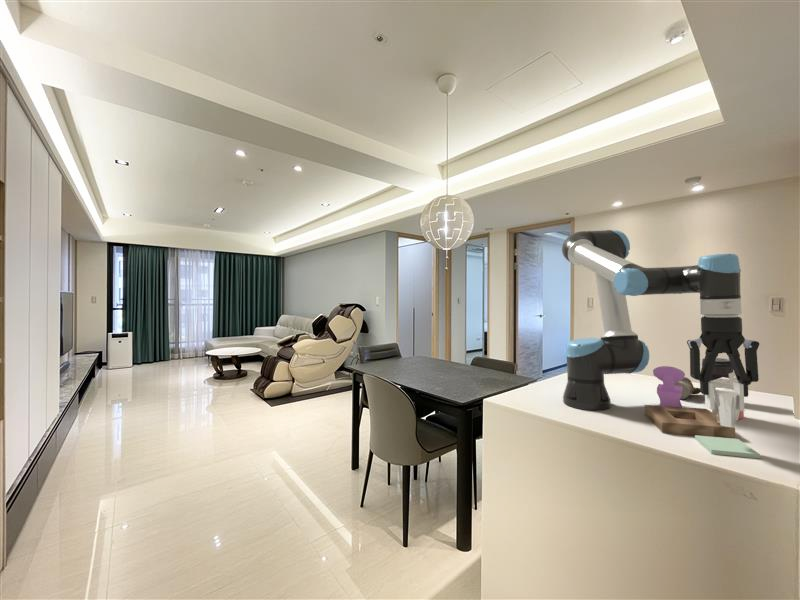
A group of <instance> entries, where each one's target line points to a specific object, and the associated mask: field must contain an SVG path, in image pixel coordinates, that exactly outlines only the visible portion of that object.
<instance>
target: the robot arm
mask: <svg viewBox="0 0 800 600" xmlns="http://www.w3.org/2000/svg"><path fill="white" fill-rule="evenodd" d="M630 250H631V243H630V239H629V238H628V236H627V235H626V234H625V233H624V232H622V231H621V230H615V229H614V230H612V229H606V230H604V229H603V230H583V231H577V232H574V233H572V234H570V235H569V236H567V237H566V239H565V240H564V241H563V243H562V247H561V251H562V256H563V257H564V258H565V260H567V261H568V262H570V263H571V264H572V265H577V266H580V265H581V266H582V267H584V268H586V269H588V270H590V271H592V272H593V273H594V274H595V282H596V289H597V293H598V294H597V295H598V300H599V307H600V308H599V309H600V313H601V320H602V327H603V334H602V335H601V336H600V337H599V338H598V337H584V338H578V339H577V338H575V339H573V340H570V341H569V342H567V345H566V352H565V356H566V371H567V373H566V374H567V382H566V385H565V389H564V392H563V395H562V402H563V403H564V404H565V405H566V406H568V407H571V408H573V409H574V408H575V409H580V410H585V411H586V410H587V411H604V410H608V409H610V408H611V407H612V404H611V397H610V395H609V393H608V391H607V388H606V386H605V375H618V374H629V375H630V374H635V373H639V372H642V371H643V370H645V369H646V367H648V364H649V361H650V351H649V347H648V345H646V343H645V342H644V341H643V340H640V339H639V337H638V333H636V332H634V331H633V330H632V324H631V319H630V314H629V312H630V311H629V306H628V300H627V296H631V297H637V296H649V295H671V294H672V295H678V294H679V295H681V294H697V293H698V294H699V304H700V305H699V306H700V310H699V311H700V315H702V317H701V318H700V330H701V334H700V336H699V338H696V339H688V340H687V341H686V344H687V346H688V348H689V372H690V373H689V376H690V377H691V378H692V379H695V380H696V381H699V388H700V394H702V395H704V406H705V407H707V408H708V409H709V410H712V409H714V391H713V383H711V382H709V380H710V377H711V373H712V370H713V367H714V363H715V360H716V358H719V357H718V356H719V355H720V354H726V355H727V357H728V359H729V360H730V362H731V365H732V367H733V372H734V373H735V378H737V380H738V382H733V385H734V391H735V392H736V393H737V394H738V396H737V406H736V409H738V410H740V411H744V412H745V398H748V397H749V385H751V384H752V383H753V382H755V383H756V382H759V379H760V378H759V365H758V364H759V363H758V352H757V351H758V349H759V346H760V342H759V341H757V340H752V339H746V338H745V337H744V335H743V319H742V317H741V316H739V315H741V314H742V313H743V312H742V297H741V294H742V293H741V272H742V270H741V266H740V259H739V256H738V255H737V254H735V253H720V254H718V253H717V254H709V255H703V256H702V255H701V256H700V257H699V258H698V263H697V264H695V265H686V266H685V265H684V266H670V267H667V266H664V267H644V266H641V265H638V264H637V263H634V262H631V261H630V260H627V259H626V258H627V257H628V256H629V254H630ZM702 344H703V346H704V347H705V356H704V358H705V359H704V362H703V366H702V365H701V351H700V348H701V346H702ZM741 346H743V347H744V362H745V367H744V365H743V362H742V359H741V355H740V352H739V349H740V347H741Z"/></svg>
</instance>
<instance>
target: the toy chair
mask: <svg viewBox="0 0 800 600" xmlns="http://www.w3.org/2000/svg"><path fill="white" fill-rule="evenodd" d="M652 374H653V376H654V377H655V378H656V379H658V380H659V381H661V382H662V383H659V384H658V385H657V387H656V393H657V397H658V399H659V401H660V402H659V406H671V407H683V405H682V402H681V399H680V398H681V394H682V391H683V389H682V386H675V383H676V382H679V381H680V380H682V379H683V378H684V377H686V376H685V375H686V374H685V371H684V370H682V369H680V368H677V367H673V366H669V365H665V366H663V365H662V366H658V367H655V368H653V370H652Z"/></svg>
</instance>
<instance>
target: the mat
mask: <svg viewBox="0 0 800 600" xmlns="http://www.w3.org/2000/svg"><path fill="white" fill-rule="evenodd" d="M694 440H696V441H697V442H698V443H699V444H700V445H701V446H703V448H704V449H705V450H707V451H708V452H709V453H710V454H711V455H720V456H721V455H722V456H729V457H739V458H750V459H751V458H752V459H761V455H760V453H759V452H757V451H756V450H754V449H753V448H752V447H750V446H748V445H747V444H746V443H744V442H743V441H742V440H740V439H739V438H735V439H732V438H721V437H709V436H698V435H695V436H694Z"/></svg>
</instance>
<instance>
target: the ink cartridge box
mask: <svg viewBox="0 0 800 600" xmlns="http://www.w3.org/2000/svg"><path fill="white" fill-rule="evenodd" d="M710 382H711V383H713V386H714V387H715V388H726V389H732V390H734V385H733V382H738V380H737V378H736V375H735V373H734V371H733V372H732V373H729V378H725V377H722V378H719V379H716V380H713V381H710ZM713 390H714V388H713ZM711 410H712V411H711V412H712V413H713V414H715V415H716V408H715V402H714V409H711ZM744 415H745V411H740V410H738V409H736V422H737V421H739V420H741V419H743V418H744ZM716 416H717V415H716Z"/></svg>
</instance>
